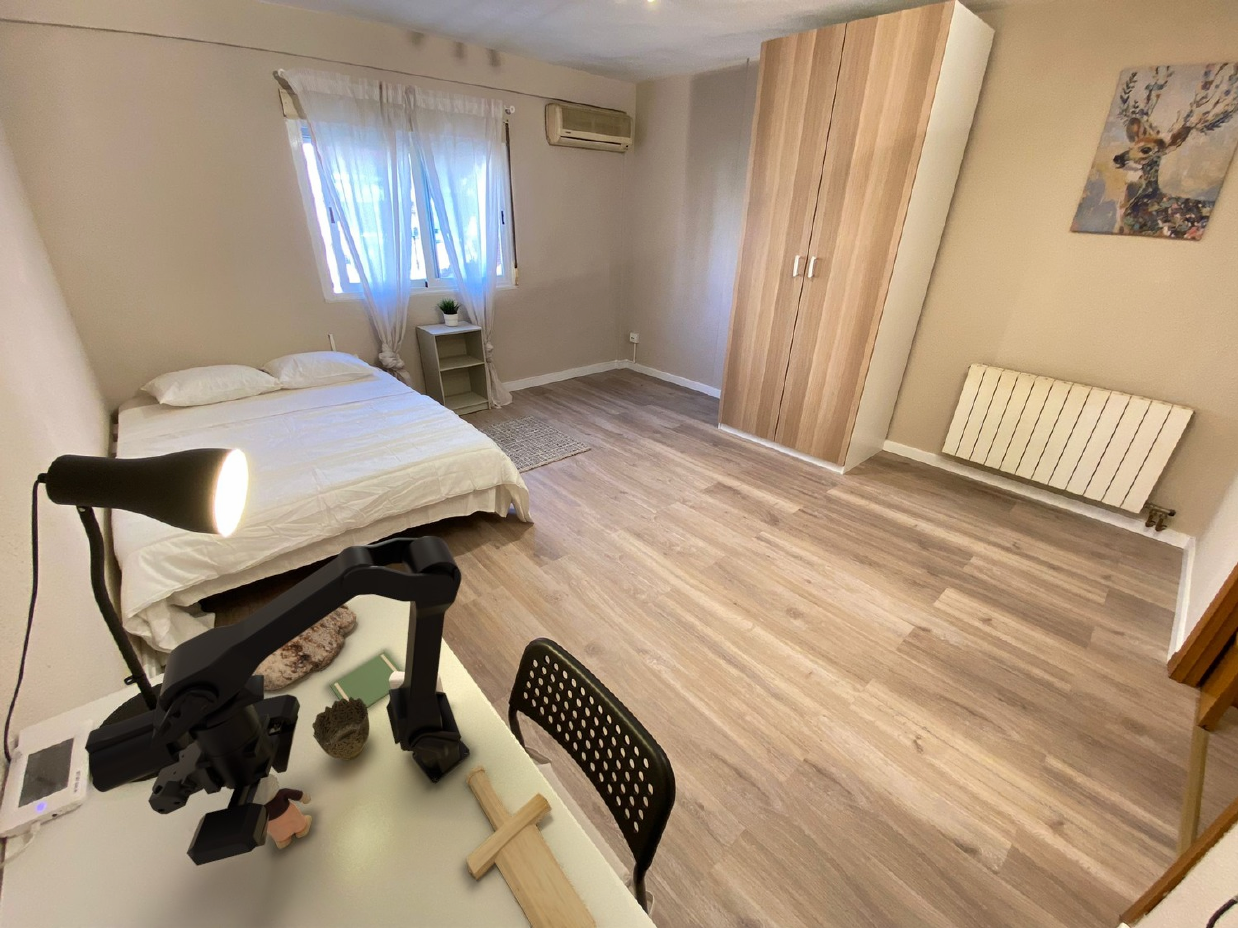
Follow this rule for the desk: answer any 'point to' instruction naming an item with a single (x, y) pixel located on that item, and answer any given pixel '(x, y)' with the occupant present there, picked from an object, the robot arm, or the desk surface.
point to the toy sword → (526, 860)
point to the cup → (342, 728)
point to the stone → (307, 650)
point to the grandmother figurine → (283, 811)
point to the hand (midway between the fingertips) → (272, 805)
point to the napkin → (367, 680)
